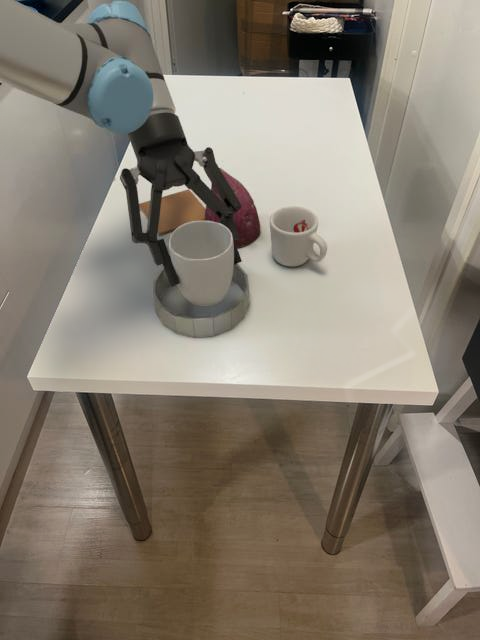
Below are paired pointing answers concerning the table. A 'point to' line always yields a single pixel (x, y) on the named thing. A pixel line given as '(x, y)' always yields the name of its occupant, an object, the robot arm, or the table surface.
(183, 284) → the mug
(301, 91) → the table surface
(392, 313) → the table surface
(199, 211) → the mat
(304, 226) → the cup
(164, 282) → the ring
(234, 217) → the vegetable
